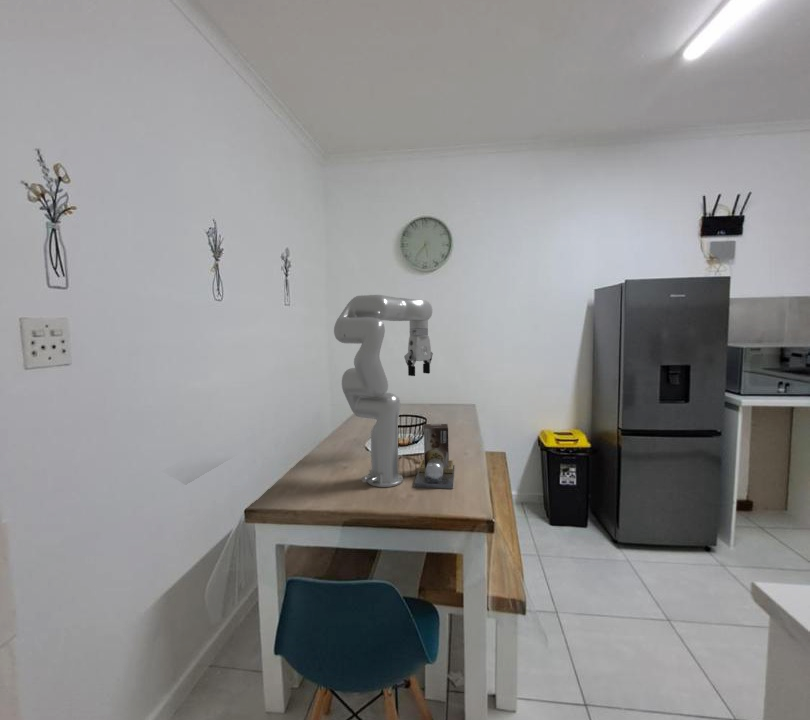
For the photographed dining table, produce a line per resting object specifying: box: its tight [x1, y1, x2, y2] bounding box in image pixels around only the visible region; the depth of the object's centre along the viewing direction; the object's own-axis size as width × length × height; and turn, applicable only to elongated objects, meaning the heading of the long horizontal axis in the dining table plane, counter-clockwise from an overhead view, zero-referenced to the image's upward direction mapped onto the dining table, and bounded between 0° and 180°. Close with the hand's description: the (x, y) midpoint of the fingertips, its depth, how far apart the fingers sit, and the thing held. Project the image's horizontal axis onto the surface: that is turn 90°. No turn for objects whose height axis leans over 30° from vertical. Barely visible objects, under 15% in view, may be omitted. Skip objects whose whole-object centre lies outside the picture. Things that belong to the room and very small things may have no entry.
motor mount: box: [414, 458, 455, 490], centre depth 153 cm, size 20×13×8 cm, turn 172°
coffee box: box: [423, 423, 450, 468], centre depth 157 cm, size 9×6×16 cm
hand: (419, 374), depth 175 cm, fingers open, 9 cm apart
